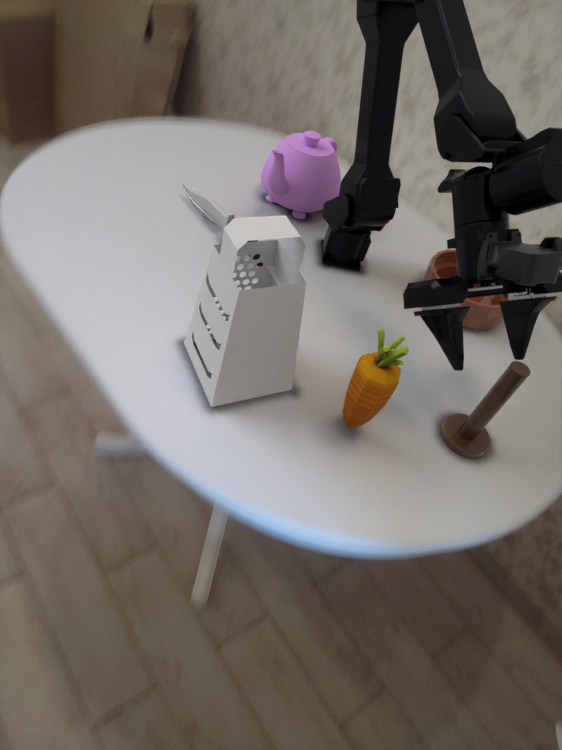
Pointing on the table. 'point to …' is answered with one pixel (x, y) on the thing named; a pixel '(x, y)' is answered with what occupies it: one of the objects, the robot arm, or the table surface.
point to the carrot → (373, 382)
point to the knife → (212, 211)
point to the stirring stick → (482, 414)
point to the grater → (249, 312)
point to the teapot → (302, 173)
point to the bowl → (481, 310)
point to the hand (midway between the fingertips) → (489, 364)
